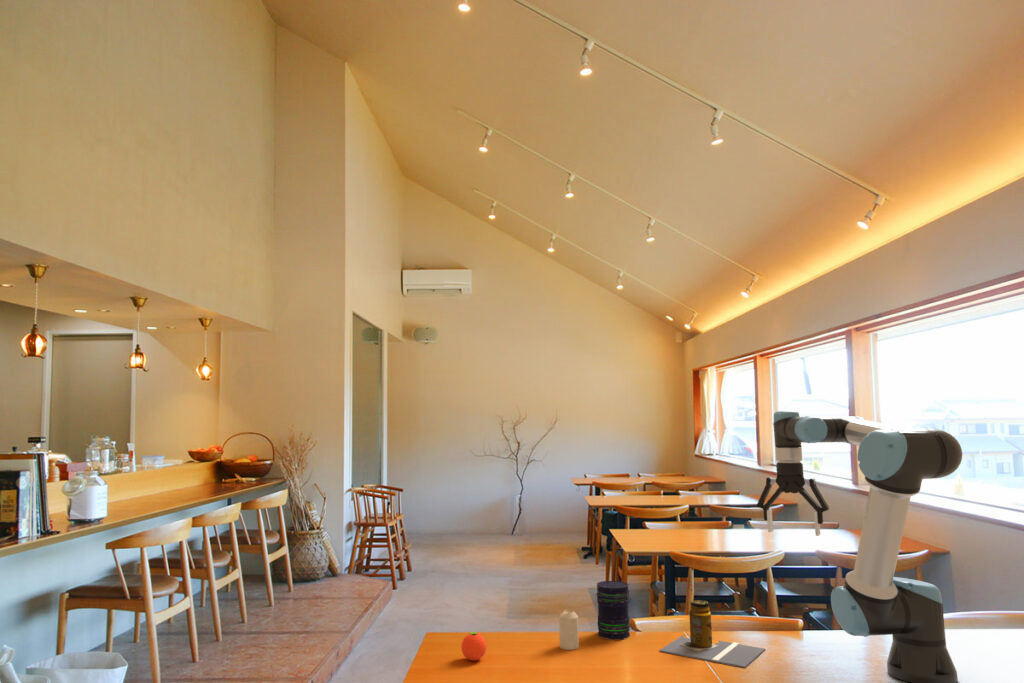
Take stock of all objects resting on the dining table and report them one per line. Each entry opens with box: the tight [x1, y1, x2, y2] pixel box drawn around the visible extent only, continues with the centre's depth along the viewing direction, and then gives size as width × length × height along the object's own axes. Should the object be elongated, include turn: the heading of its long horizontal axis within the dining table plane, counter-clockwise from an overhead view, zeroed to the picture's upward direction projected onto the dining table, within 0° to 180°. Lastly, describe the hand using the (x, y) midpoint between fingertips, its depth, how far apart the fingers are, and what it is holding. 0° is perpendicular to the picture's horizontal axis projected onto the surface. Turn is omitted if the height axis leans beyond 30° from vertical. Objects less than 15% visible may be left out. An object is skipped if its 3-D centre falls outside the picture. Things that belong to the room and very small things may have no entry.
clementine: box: [460, 631, 488, 661], centre depth 185 cm, size 8×7×7 cm
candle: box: [558, 609, 580, 651], centre depth 195 cm, size 6×6×10 cm
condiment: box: [680, 599, 718, 651], centre depth 194 cm, size 7×8×12 cm
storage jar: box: [596, 580, 631, 641], centre depth 207 cm, size 10×10×15 cm
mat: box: [658, 635, 766, 669], centre depth 190 cm, size 24×18×1 cm
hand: (793, 533), depth 203 cm, fingers open, 13 cm apart
